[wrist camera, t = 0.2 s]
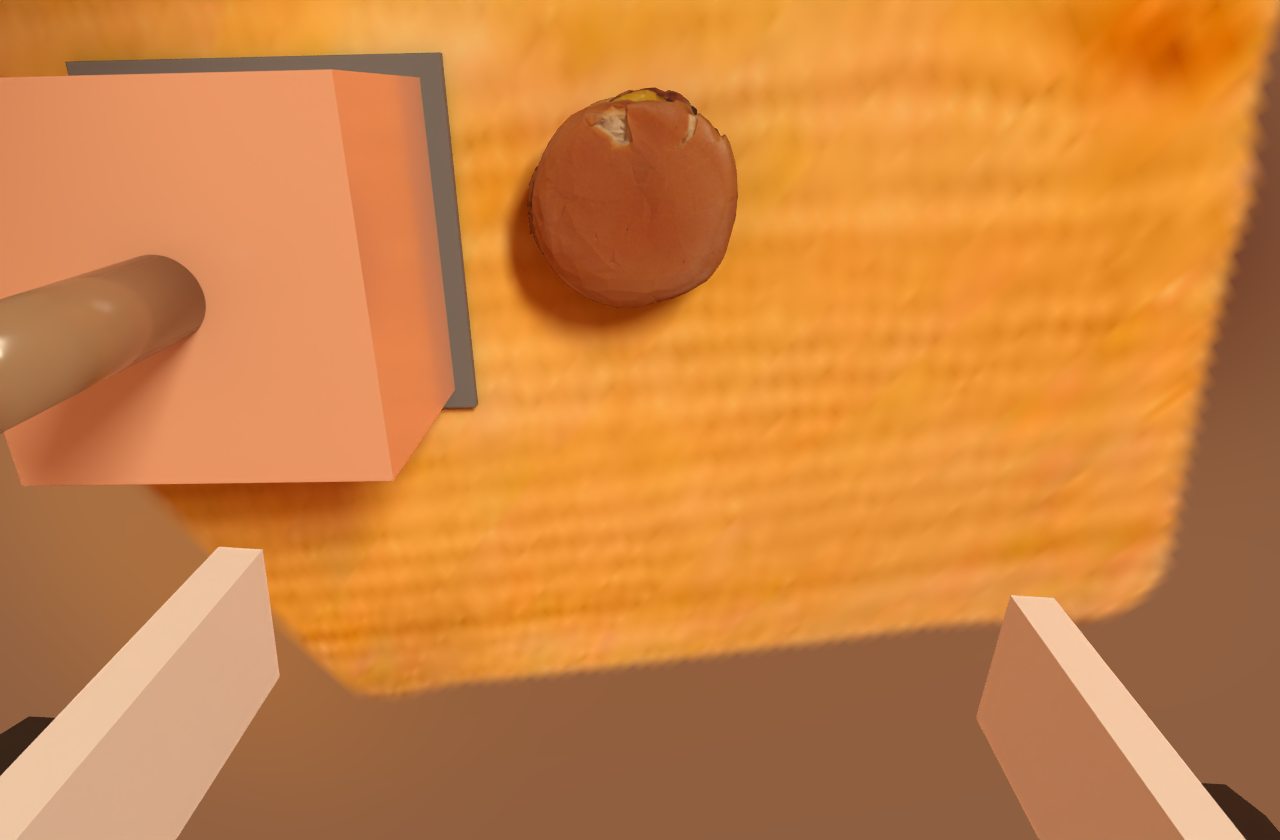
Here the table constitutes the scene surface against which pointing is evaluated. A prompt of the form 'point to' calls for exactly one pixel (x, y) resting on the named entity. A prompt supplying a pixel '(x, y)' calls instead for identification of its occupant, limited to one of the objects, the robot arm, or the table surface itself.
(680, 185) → the burger
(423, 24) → the table surface
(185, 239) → the pink box with peg
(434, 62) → the mat
